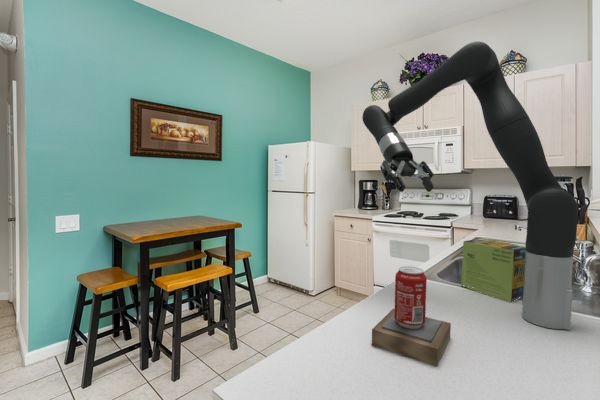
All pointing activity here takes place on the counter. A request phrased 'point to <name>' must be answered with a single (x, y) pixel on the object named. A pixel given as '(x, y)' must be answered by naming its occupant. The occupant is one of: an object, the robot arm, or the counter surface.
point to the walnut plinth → (413, 338)
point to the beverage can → (410, 297)
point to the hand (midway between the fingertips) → (417, 189)
